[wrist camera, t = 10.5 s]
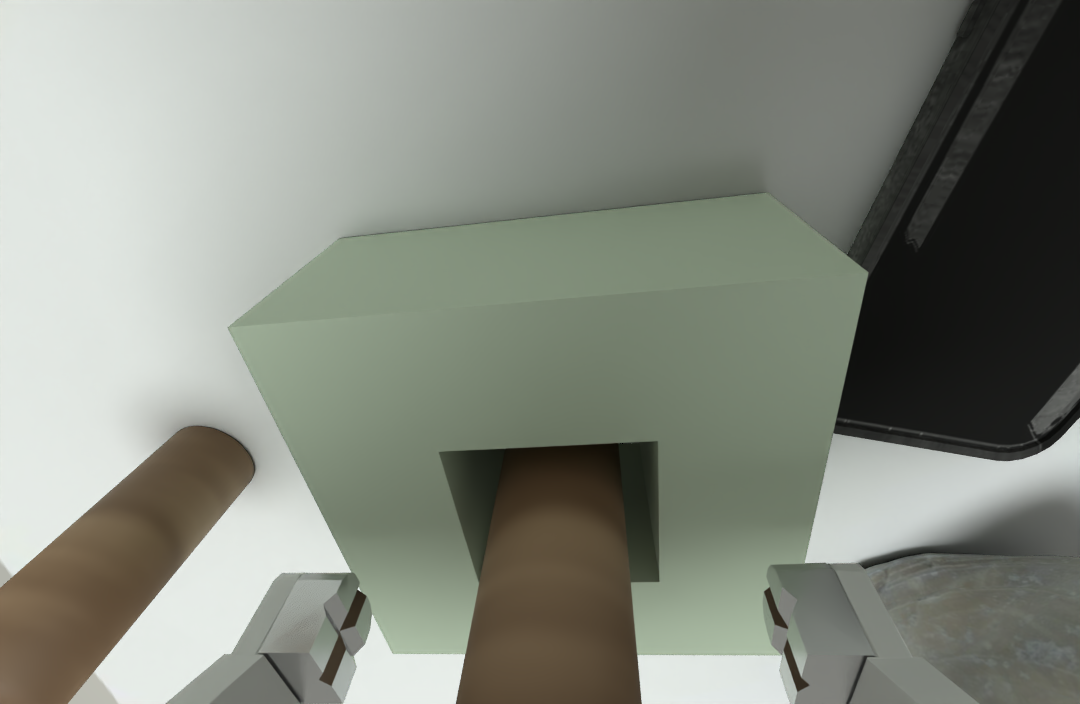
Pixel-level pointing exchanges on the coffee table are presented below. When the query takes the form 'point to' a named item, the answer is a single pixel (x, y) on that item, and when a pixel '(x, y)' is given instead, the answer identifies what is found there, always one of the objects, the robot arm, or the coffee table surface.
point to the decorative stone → (990, 622)
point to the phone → (978, 250)
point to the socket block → (568, 400)
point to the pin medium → (113, 565)
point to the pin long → (555, 585)
